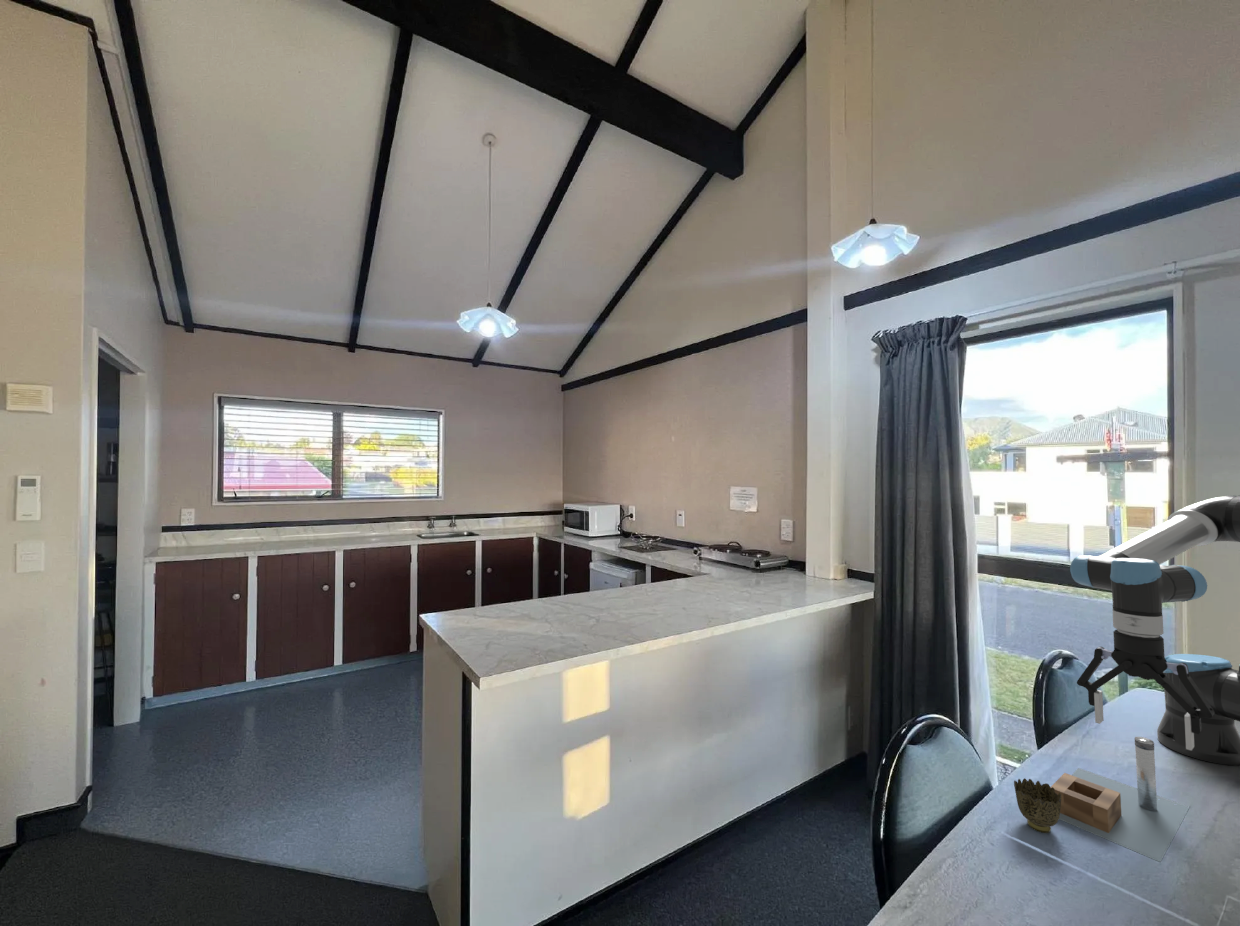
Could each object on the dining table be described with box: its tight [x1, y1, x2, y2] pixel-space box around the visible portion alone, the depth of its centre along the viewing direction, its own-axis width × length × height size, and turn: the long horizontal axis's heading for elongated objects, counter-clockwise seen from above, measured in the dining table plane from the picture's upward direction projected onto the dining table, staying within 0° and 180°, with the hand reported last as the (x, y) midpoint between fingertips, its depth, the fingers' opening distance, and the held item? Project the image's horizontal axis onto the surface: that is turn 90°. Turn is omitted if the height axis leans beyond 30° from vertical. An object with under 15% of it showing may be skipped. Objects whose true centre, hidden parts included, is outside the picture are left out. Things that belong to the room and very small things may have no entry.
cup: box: [1013, 777, 1062, 834], centre depth 103 cm, size 8×7×8 cm
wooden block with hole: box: [1050, 772, 1121, 833], centre depth 107 cm, size 9×9×4 cm
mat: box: [1058, 767, 1190, 863], centre depth 108 cm, size 26×18×1 cm
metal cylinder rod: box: [1134, 736, 1158, 812], centre depth 108 cm, size 3×3×14 cm
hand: (1142, 734), depth 108 cm, fingers open, 13 cm apart
